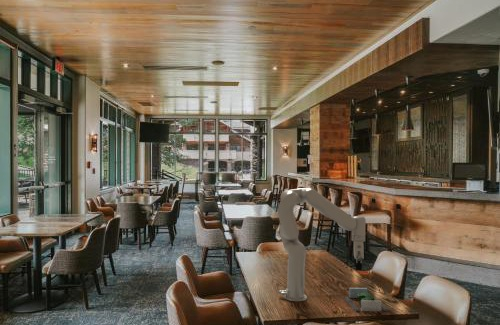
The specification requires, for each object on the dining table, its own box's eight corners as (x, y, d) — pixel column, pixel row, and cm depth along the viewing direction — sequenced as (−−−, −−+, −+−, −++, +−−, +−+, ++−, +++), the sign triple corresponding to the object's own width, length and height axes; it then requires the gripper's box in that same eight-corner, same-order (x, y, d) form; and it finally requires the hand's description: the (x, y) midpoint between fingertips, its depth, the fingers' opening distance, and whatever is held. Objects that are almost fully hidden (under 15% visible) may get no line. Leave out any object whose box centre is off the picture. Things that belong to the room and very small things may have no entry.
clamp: (361, 311, 223) (355, 294, 227) (372, 309, 223) (366, 292, 227) (366, 310, 212) (360, 292, 216) (377, 307, 212) (371, 289, 216)
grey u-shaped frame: (355, 311, 210) (356, 301, 210) (344, 299, 230) (345, 290, 230) (387, 311, 211) (387, 301, 211) (374, 299, 231) (374, 290, 231)
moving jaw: (350, 297, 232) (350, 288, 232) (348, 296, 234) (349, 287, 234) (367, 297, 232) (367, 288, 232) (366, 296, 234) (366, 287, 234)
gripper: (366, 240, 226) (366, 272, 226) (363, 236, 243) (363, 265, 243) (352, 240, 227) (352, 271, 227) (350, 235, 244) (350, 264, 244)
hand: (357, 268), depth 235 cm, fingers open, 9 cm apart
